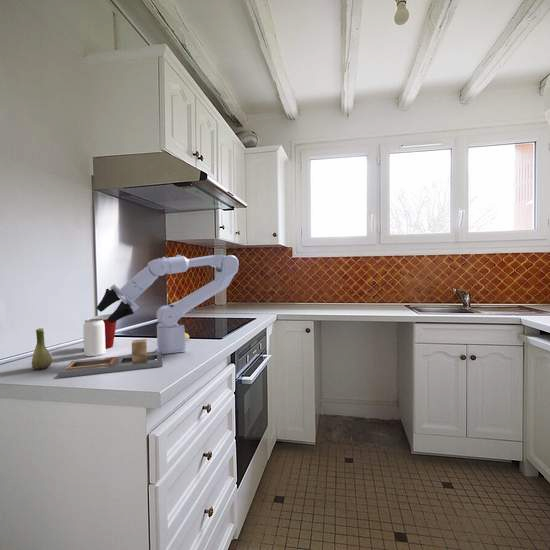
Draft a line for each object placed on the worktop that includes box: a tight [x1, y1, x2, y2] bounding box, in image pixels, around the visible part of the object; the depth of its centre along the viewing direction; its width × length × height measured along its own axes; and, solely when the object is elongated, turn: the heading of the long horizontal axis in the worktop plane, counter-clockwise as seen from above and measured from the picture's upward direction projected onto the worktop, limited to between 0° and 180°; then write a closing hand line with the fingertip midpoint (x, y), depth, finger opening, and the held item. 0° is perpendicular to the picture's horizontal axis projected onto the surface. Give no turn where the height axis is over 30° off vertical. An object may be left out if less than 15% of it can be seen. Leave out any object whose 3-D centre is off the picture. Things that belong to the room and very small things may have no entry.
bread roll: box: [185, 332, 190, 342], centre depth 135 cm, size 8×9×4 cm
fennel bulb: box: [31, 327, 53, 370], centre depth 100 cm, size 6×5×12 cm
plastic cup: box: [86, 313, 118, 349], centre depth 125 cm, size 11×11×12 cm
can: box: [82, 319, 107, 358], centre depth 115 cm, size 6×6×12 cm
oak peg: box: [131, 338, 148, 362], centre depth 102 cm, size 4×4×7 cm
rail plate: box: [59, 352, 164, 379], centre depth 100 cm, size 26×12×2 cm, turn 109°
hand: (103, 315), depth 107 cm, fingers open, 7 cm apart
